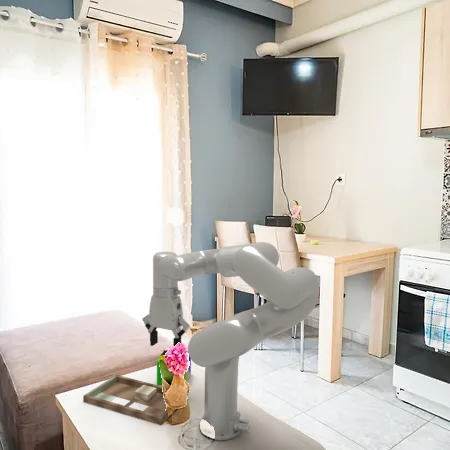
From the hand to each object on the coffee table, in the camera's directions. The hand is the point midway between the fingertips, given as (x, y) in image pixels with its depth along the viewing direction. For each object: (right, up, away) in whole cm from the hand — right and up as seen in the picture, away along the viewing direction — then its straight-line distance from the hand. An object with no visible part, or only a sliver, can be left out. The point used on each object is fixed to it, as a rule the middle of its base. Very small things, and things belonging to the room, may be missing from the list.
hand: (165, 346), depth 127 cm
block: (-7, -18, +5) cm, 20 cm away
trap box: (-10, -20, +3) cm, 22 cm away
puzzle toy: (+1, -19, +17) cm, 25 cm away
